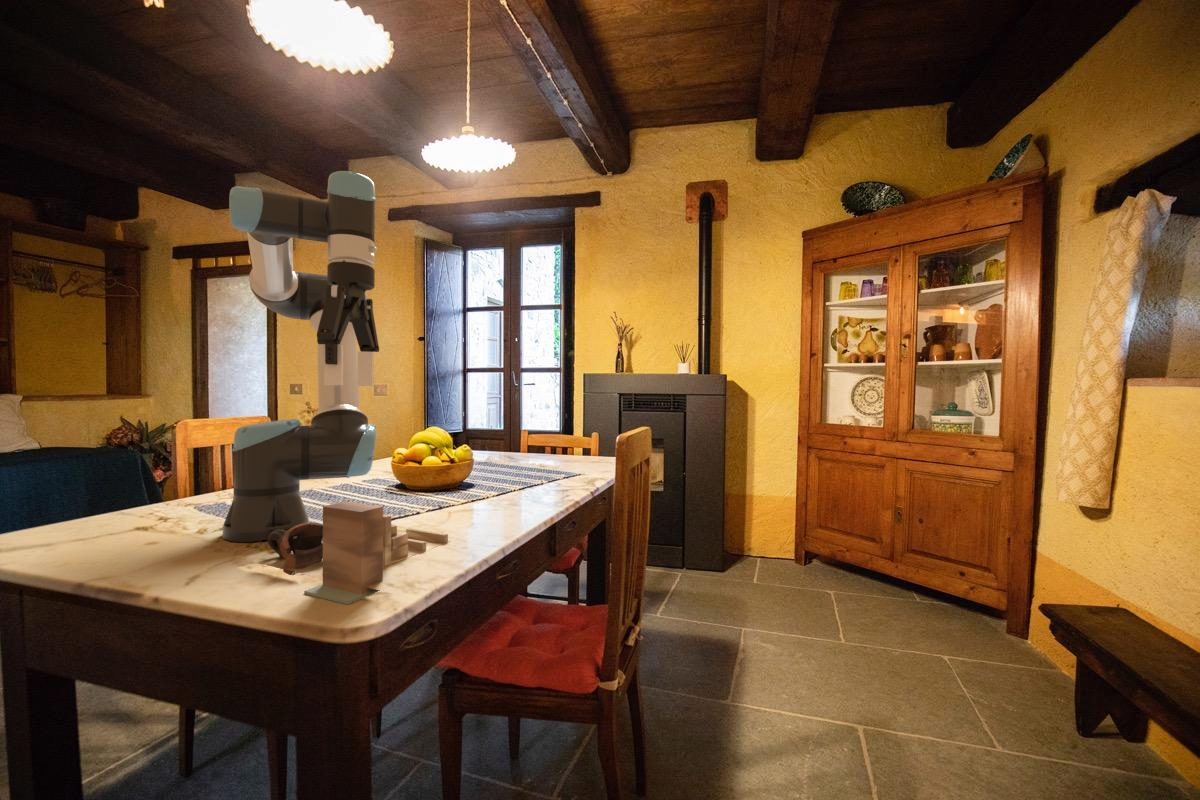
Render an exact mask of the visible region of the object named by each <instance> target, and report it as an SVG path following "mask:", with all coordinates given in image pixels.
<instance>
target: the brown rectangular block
mask: <svg viewBox="0 0 1200 800" xmlns="http://www.w3.org/2000/svg"><path fill="white" fill-rule="evenodd" d="M383 515H384V506H382V505H381V506H380V505H374V504H365V503H359V502H351V501H342V502H337V503H333V504H328V505H323V506H322V525H323V538H322V543H323V559H322V584H323V586H327V587H331V588H335V589H339V590H344V591H348V592H352V593H356V594H360V595H361V594H363V593H366V592H368V591H370V590H373V589H374V588H371V587H370V586H373V585H375V584H378V583H380V582H383V579H384V578H383V577H384V576H383V575H384V566H383Z"/></svg>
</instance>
